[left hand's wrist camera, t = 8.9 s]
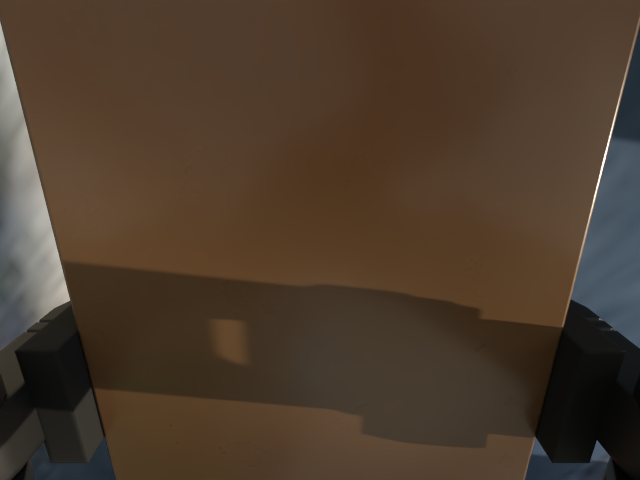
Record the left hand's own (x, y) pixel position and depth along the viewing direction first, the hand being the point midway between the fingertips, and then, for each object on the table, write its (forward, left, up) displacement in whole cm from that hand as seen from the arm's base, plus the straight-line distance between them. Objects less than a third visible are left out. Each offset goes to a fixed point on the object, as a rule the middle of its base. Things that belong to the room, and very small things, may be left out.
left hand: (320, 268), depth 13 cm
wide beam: (+22, +24, 0) cm, 32 cm away
